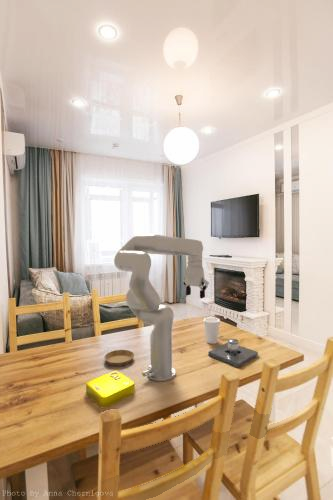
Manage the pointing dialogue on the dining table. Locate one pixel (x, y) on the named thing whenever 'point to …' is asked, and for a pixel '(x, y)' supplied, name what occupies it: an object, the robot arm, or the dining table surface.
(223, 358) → the flange
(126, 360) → the plant saucer
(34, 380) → the dining table surface
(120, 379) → the element tile
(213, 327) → the foam cup
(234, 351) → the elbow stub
